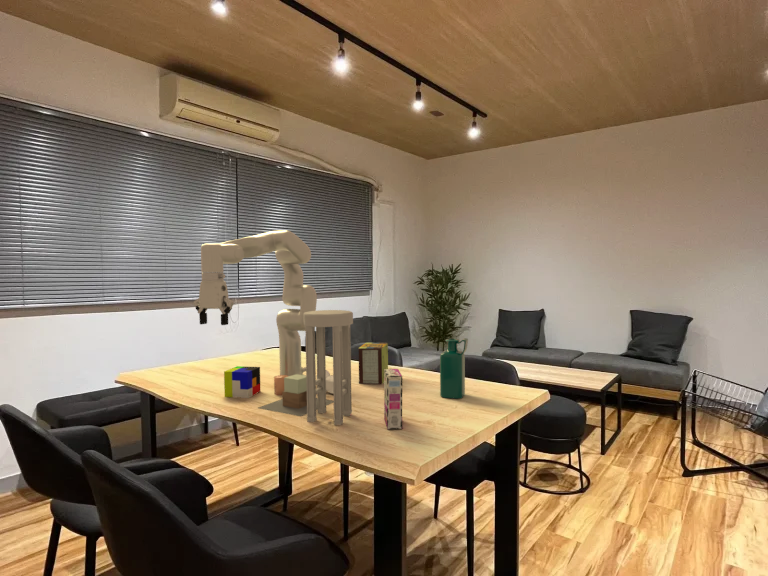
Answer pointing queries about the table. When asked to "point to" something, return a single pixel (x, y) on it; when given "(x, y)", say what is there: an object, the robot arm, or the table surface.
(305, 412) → the rubber mat
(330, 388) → the cream shape with stub
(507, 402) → the table surface
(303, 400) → the tower base
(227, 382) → the puzzle toy
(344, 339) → the stool
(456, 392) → the pitcher
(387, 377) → the candy bar box
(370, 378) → the protein box
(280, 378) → the peach egg shape
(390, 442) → the table surface
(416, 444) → the table surface
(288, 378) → the tower top
